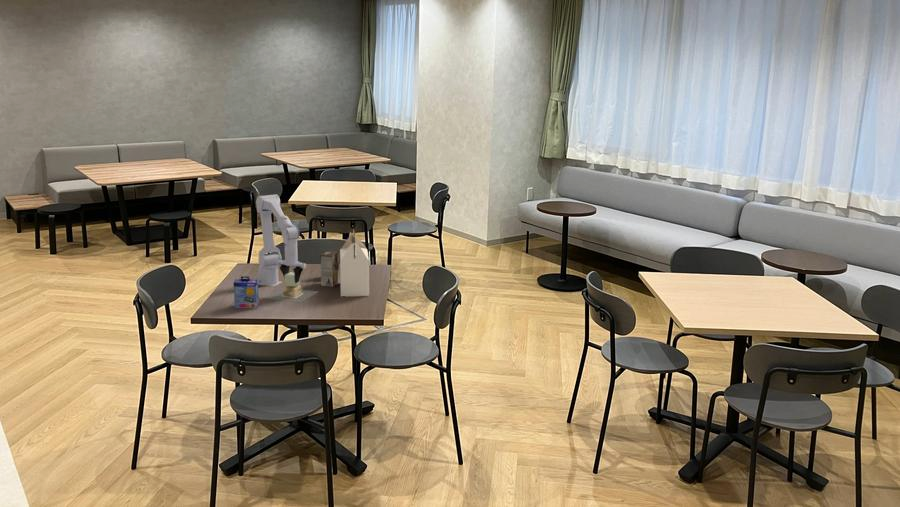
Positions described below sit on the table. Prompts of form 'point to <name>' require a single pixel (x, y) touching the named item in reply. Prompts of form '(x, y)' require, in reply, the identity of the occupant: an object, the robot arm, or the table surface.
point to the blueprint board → (300, 298)
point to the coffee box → (329, 268)
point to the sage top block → (290, 279)
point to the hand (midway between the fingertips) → (292, 281)
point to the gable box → (354, 267)
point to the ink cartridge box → (246, 293)
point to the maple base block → (292, 291)
